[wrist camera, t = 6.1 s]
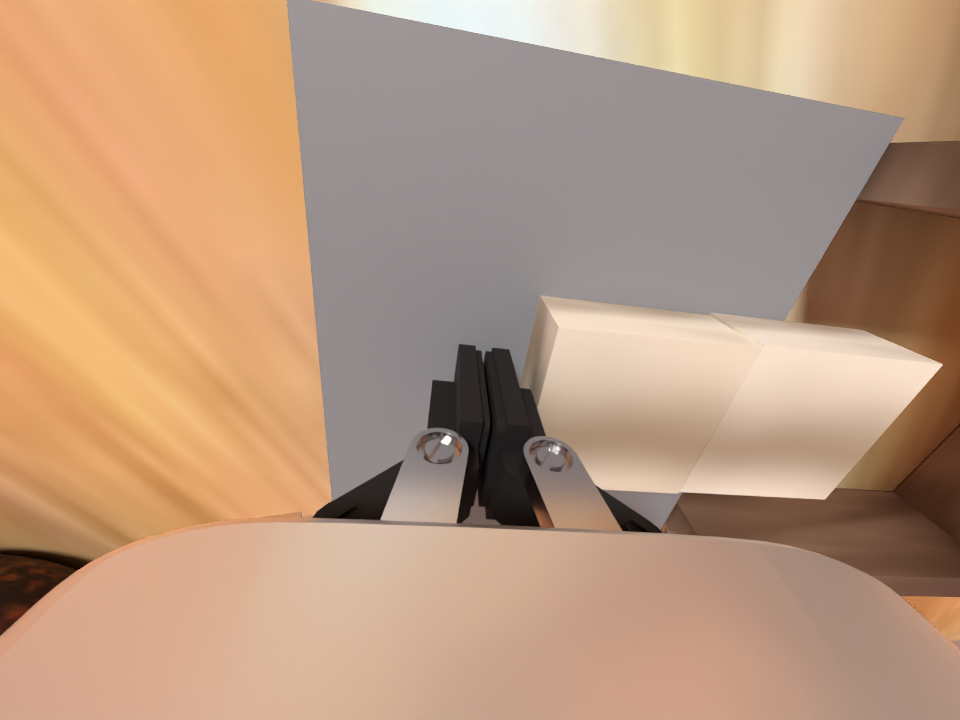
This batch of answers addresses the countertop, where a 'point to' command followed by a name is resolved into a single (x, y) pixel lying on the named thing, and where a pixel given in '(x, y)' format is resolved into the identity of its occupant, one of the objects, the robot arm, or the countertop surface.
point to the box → (864, 513)
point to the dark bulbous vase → (26, 585)
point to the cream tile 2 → (806, 409)
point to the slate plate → (535, 206)
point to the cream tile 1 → (633, 387)
